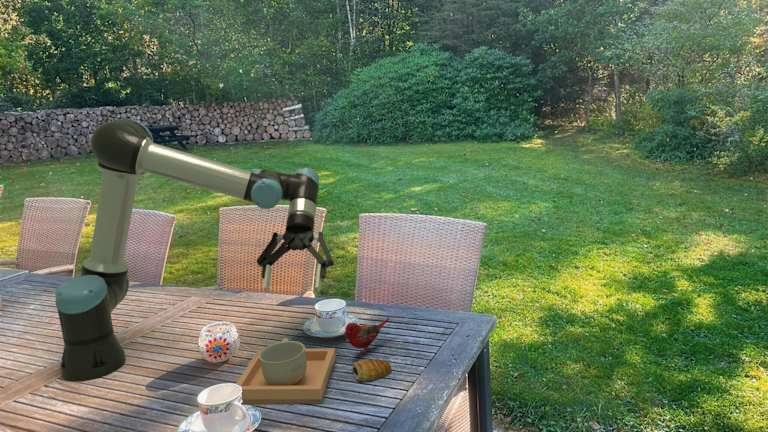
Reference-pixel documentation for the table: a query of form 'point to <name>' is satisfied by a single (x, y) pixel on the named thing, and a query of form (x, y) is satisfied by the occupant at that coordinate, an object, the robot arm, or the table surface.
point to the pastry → (370, 369)
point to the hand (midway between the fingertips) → (291, 289)
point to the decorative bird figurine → (362, 334)
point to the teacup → (283, 363)
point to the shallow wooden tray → (301, 392)
